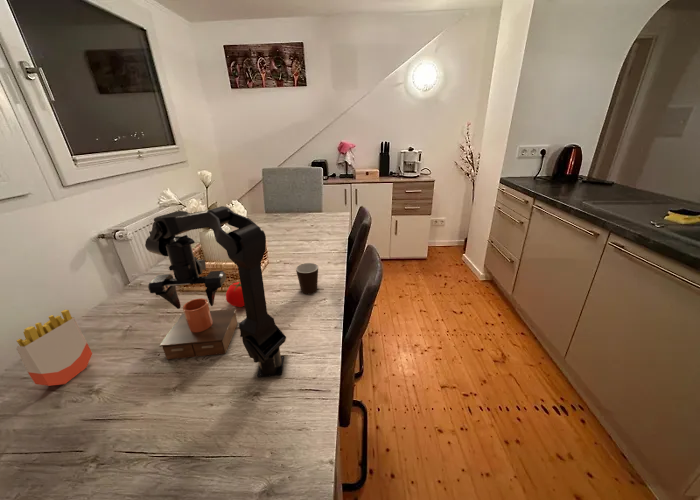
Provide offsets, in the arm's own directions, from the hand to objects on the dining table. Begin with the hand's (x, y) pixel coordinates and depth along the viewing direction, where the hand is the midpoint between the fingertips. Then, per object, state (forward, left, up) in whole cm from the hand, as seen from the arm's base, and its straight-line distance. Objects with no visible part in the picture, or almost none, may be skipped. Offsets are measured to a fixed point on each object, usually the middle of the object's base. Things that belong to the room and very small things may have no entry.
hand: (195, 306), depth 82 cm
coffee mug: (+26, -32, -12) cm, 43 cm away
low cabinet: (0, 0, -12) cm, 12 cm away
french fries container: (-9, +32, -12) cm, 35 cm away
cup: (0, 0, -7) cm, 7 cm away
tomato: (+19, -7, -12) cm, 23 cm away
